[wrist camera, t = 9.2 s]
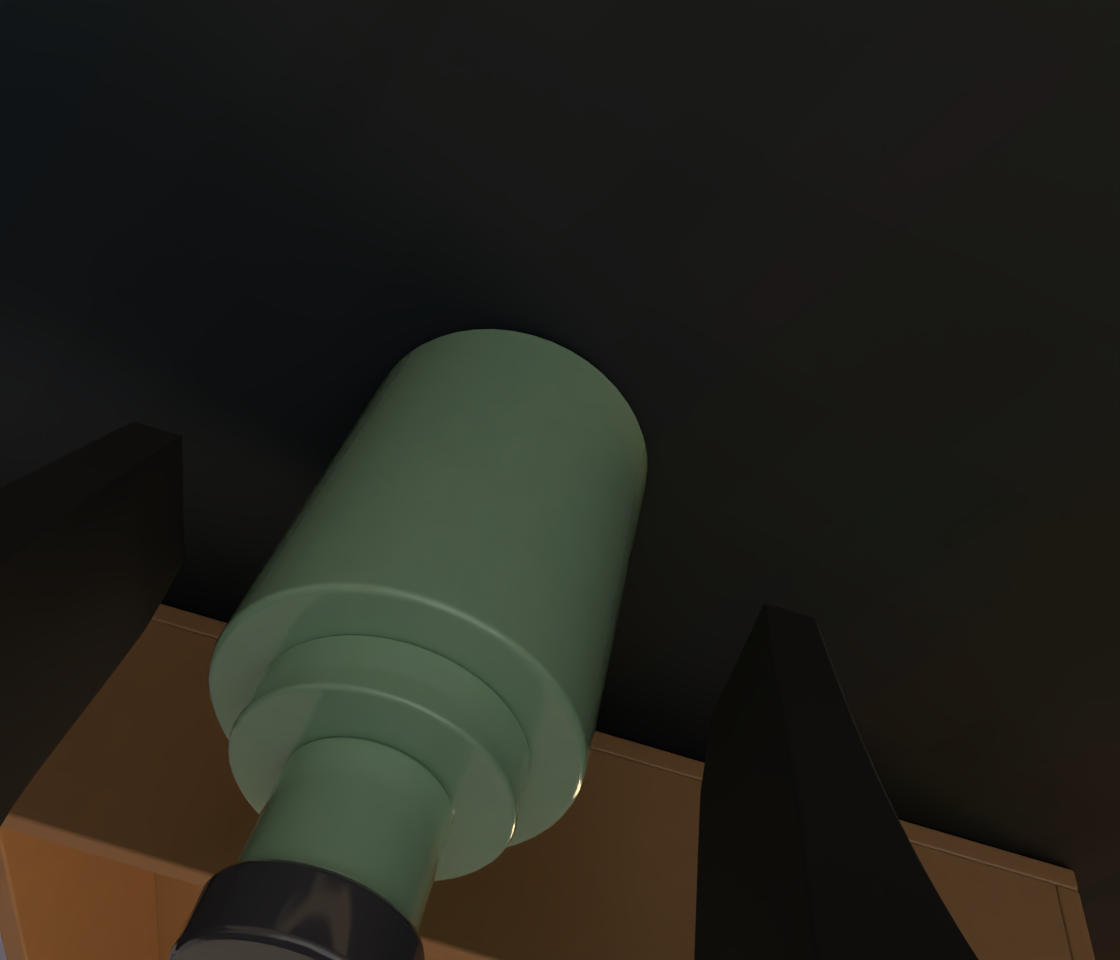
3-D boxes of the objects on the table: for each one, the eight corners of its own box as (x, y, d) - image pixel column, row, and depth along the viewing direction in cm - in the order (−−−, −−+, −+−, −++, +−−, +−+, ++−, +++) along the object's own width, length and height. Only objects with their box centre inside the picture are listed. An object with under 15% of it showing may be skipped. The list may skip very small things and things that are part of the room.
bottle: (360, 519, 16) (65, 1045, 10) (387, 290, 13) (18, 789, 7) (610, 591, 16) (482, 1171, 9) (683, 374, 13) (576, 956, 7)
